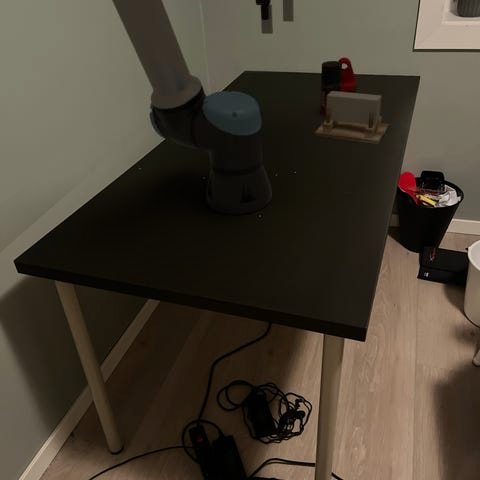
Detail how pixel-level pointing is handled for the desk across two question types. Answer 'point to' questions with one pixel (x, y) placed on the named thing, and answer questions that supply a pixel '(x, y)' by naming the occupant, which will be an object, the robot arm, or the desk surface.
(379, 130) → the rack
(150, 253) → the desk surface
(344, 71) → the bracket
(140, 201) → the desk surface
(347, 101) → the grey rectangular block
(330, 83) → the deodorant
